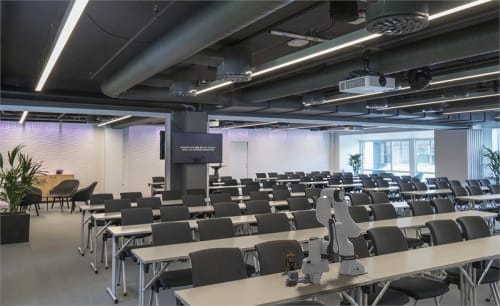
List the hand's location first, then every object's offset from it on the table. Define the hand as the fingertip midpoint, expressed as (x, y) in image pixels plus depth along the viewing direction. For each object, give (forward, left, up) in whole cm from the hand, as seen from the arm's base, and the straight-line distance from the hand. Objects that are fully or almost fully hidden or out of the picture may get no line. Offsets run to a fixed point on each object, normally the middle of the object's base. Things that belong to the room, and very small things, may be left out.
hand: (315, 279), depth 282 cm
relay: (+18, -1, -3) cm, 18 cm away
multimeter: (+7, -34, -3) cm, 35 cm away
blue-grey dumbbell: (+8, -8, -3) cm, 12 cm away
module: (0, 0, -3) cm, 3 cm away
